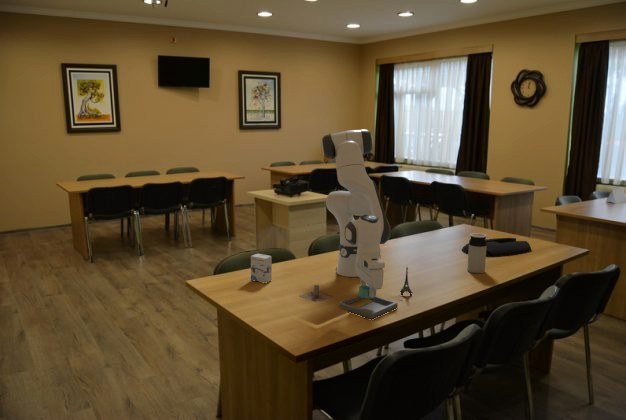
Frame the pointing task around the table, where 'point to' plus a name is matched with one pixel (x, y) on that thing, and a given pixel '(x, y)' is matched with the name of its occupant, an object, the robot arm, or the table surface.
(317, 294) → the post stand
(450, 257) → the table surface
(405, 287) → the eiffel tower figurine
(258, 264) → the ink box
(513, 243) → the black folded towel
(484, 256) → the travel mug
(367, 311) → the tray
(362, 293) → the ring
